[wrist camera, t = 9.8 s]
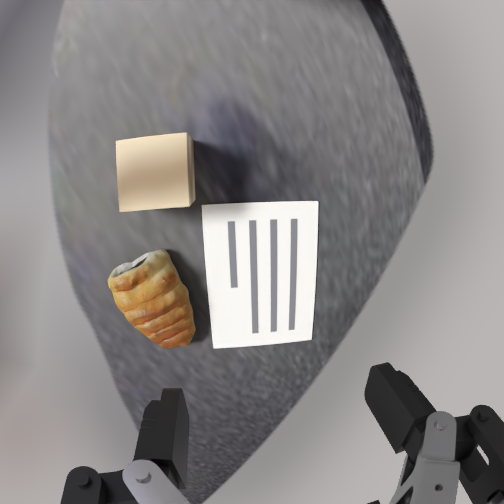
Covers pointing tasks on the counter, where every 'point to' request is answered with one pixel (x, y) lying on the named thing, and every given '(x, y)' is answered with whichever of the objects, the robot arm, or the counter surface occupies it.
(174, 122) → the counter surface
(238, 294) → the letter
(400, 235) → the counter surface
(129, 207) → the maple cube
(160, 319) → the pastry
